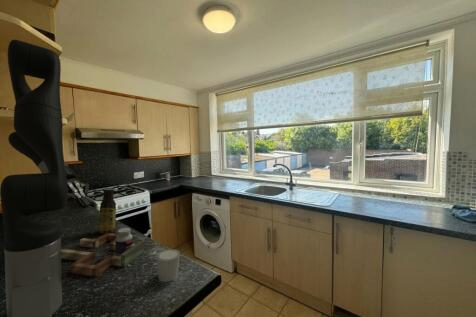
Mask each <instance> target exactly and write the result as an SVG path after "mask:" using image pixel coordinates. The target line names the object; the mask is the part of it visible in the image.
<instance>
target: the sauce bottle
mask: <svg viewBox="0 0 476 317" xmlns="http://www.w3.org/2000/svg"><path fill="white" fill-rule="evenodd" d="M102 192H103V193H102V194H103V198H102V201H101V202H100V205H99V214H98V215H99V216H98V219H99V220H98V233H99V234H101V235H105V234H107V233H111V234H113V232H114V231H115V229H116V216H117V215H116V214H117V213H116V212H117V208H116V207H117V206H116V205H117V203H116V201H115V199H114V192H115V189H114V188H112V187H109V188H108V187H107V188H103V191H102Z"/></svg>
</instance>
